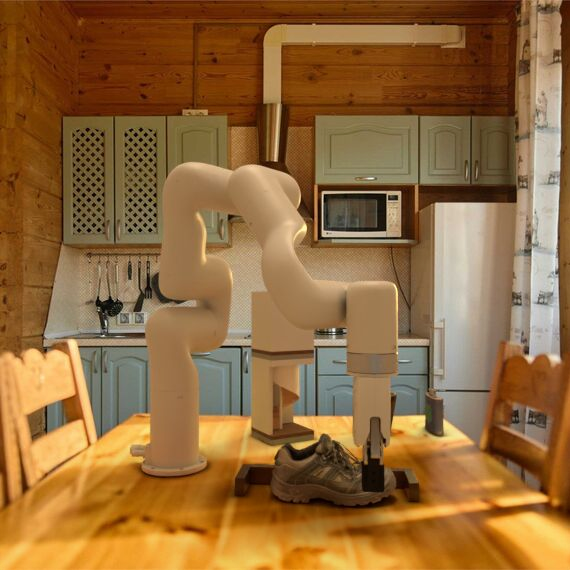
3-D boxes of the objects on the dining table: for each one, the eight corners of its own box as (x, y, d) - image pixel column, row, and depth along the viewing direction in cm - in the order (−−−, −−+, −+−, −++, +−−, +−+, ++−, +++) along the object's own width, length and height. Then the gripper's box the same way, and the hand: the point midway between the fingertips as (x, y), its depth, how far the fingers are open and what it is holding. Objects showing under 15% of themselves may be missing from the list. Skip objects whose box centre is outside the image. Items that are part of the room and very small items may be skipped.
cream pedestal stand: (271, 445, 122) (271, 291, 123) (251, 435, 132) (251, 291, 133) (314, 439, 128) (313, 291, 129) (291, 429, 137) (291, 292, 138)
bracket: (234, 495, 91) (234, 477, 91) (242, 480, 99) (242, 463, 99) (419, 501, 88) (419, 483, 89) (412, 485, 96) (412, 468, 96)
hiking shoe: (403, 498, 84) (389, 422, 90) (268, 511, 85) (265, 434, 91) (397, 508, 92) (385, 438, 98) (275, 519, 92) (271, 449, 99)
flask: (445, 436, 131) (444, 391, 131) (433, 436, 131) (432, 391, 131) (433, 427, 140) (432, 385, 140) (422, 427, 140) (421, 385, 140)
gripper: (344, 358, 87) (345, 473, 87) (348, 371, 72) (349, 509, 72) (391, 359, 87) (392, 474, 86) (405, 371, 72) (406, 511, 71)
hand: (372, 490), depth 79 cm, fingers closed
